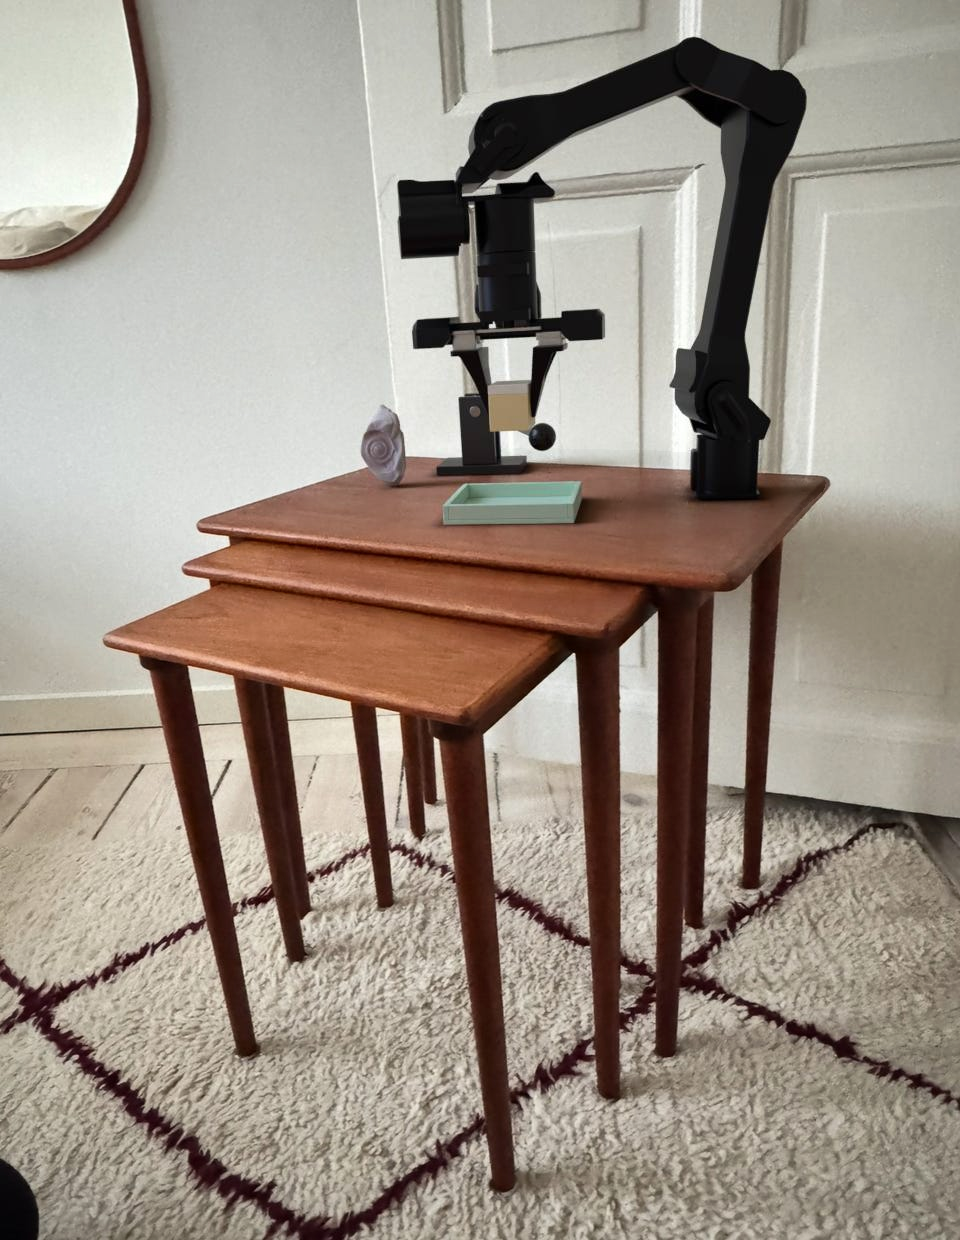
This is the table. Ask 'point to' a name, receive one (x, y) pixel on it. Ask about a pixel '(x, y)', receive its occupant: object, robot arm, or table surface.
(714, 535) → the table surface
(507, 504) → the tray
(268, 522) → the table surface
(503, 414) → the cake slice
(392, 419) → the fossil
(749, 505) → the table surface
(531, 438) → the lever
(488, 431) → the black lever stand
